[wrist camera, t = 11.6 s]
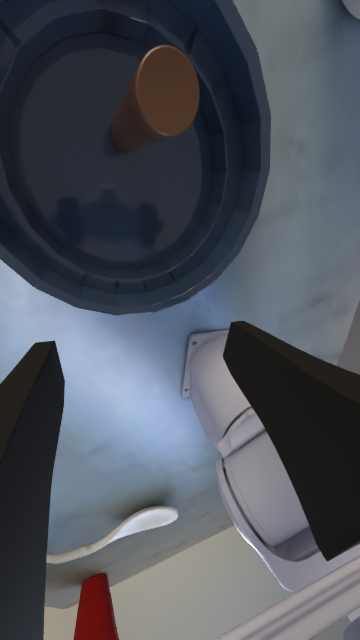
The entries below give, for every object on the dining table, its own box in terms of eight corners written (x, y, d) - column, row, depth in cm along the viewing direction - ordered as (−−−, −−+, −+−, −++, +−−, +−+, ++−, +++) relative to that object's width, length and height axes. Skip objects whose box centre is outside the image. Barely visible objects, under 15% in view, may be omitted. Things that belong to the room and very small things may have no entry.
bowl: (211, 282, 21) (235, 306, 18) (19, 290, 17) (0, 324, 13) (255, 36, 13) (315, -12, 10) (-92, -81, 9) (-220, -254, 5)
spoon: (-36, 552, 33) (-48, 587, 30) (178, 490, 44) (184, 512, 41) (-19, 571, 37) (-28, 604, 34) (171, 511, 48) (176, 532, 45)
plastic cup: (64, 595, 56) (59, 682, 47) (76, 577, 52) (73, 669, 43) (109, 581, 61) (112, 657, 52) (123, 564, 57) (129, 643, 48)
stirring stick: (137, 155, 14) (195, 140, 6) (109, 150, 14) (135, 130, 6) (137, 121, 13) (205, 55, 5) (108, 115, 13) (136, 32, 5)
